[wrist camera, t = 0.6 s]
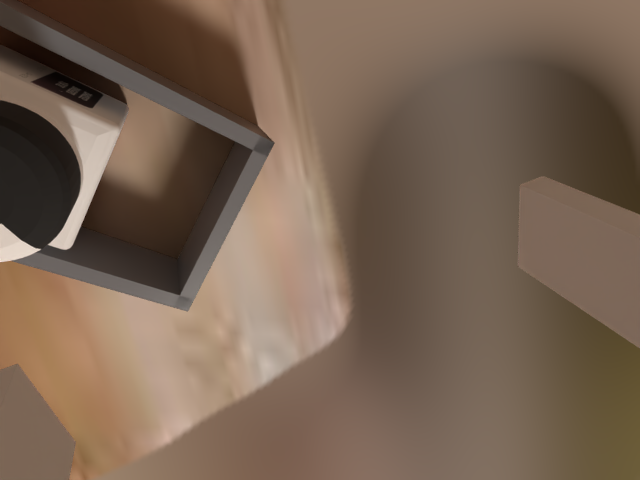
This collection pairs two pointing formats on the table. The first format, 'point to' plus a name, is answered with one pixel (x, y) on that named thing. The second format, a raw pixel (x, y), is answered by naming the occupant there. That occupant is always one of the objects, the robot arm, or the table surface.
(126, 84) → the bay
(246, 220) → the table surface
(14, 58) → the container
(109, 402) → the table surface
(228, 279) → the table surface
